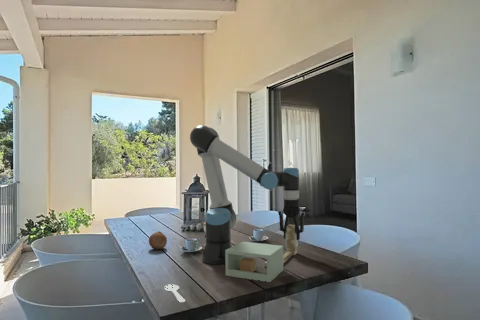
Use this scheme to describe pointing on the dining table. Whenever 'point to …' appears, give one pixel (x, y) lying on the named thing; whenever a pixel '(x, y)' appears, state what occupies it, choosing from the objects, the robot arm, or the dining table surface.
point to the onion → (157, 240)
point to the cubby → (255, 250)
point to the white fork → (175, 291)
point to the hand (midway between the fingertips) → (291, 245)
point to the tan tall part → (289, 243)
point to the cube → (248, 264)
